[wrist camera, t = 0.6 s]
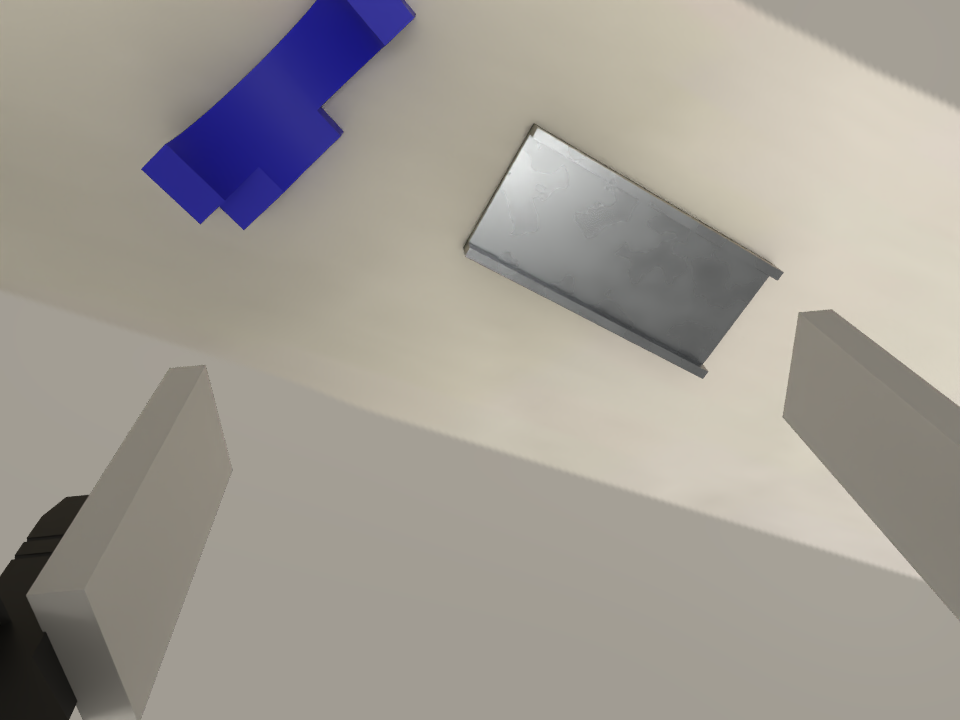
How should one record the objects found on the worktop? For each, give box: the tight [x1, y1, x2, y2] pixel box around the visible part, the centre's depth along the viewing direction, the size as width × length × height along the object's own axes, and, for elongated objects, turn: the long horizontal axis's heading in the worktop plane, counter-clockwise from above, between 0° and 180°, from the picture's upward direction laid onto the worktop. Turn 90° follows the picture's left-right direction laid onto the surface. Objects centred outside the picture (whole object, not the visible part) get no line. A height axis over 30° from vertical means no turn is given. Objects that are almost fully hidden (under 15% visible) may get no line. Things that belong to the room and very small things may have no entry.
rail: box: [464, 124, 784, 379], centre depth 38 cm, size 15×7×1 cm, turn 61°
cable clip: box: [141, 0, 416, 230], centre depth 31 cm, size 12×4×6 cm, turn 130°
